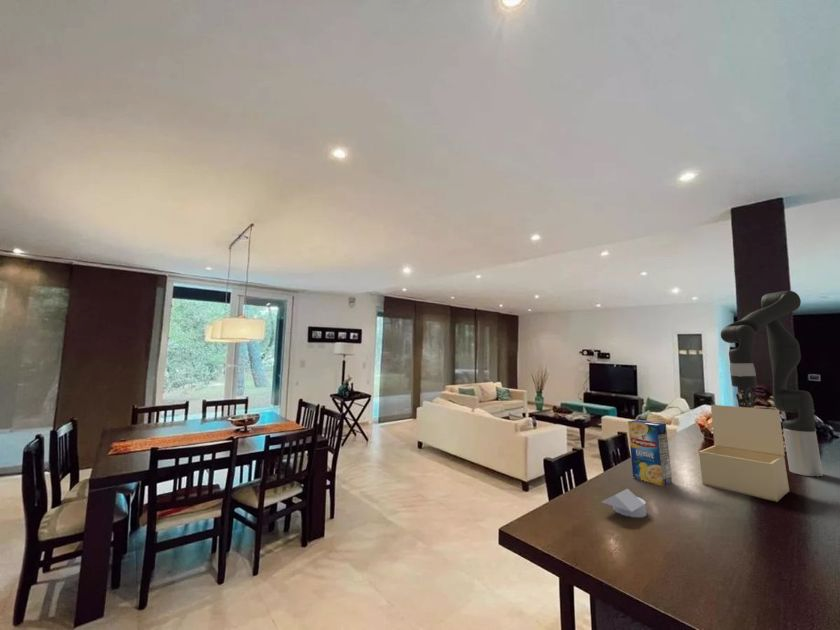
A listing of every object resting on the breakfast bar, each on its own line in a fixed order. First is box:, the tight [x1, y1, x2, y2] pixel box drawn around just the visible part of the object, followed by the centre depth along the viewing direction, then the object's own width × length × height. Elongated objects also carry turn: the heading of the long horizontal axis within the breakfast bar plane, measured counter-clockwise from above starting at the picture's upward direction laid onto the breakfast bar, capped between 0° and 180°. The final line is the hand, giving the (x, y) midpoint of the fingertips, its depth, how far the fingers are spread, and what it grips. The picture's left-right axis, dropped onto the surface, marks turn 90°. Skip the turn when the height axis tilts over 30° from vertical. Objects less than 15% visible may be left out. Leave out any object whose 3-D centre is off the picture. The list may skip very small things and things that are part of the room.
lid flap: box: [710, 404, 786, 457], centre depth 136 cm, size 16×20×6 cm
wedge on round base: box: [601, 488, 647, 518], centre depth 109 cm, size 9×7×13 cm
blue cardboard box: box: [627, 419, 673, 487], centre depth 138 cm, size 7×11×22 cm, turn 30°
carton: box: [698, 444, 790, 503], centre depth 128 cm, size 16×20×12 cm
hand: (748, 418), depth 138 cm, fingers open, 3 cm apart
